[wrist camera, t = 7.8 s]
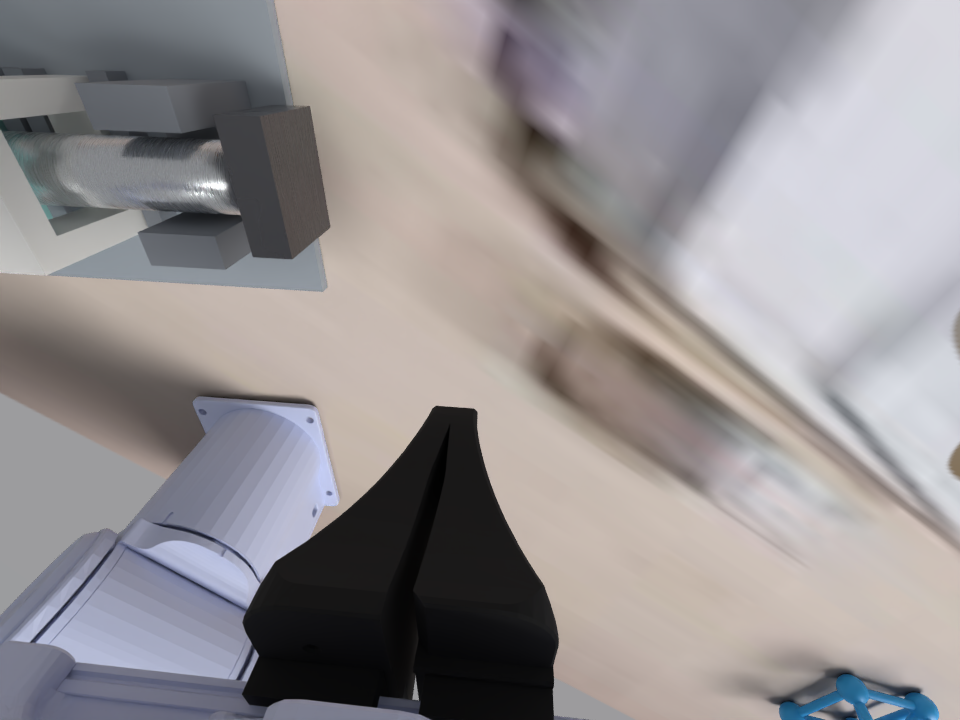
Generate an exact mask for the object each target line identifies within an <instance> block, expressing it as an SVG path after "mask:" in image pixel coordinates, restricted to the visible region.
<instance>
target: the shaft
mask: <svg viewBox="0 0 960 720" xmlns="http://www.w3.org/2000/svg"><path fill="white" fill-rule="evenodd" d="M213 118H214V121H215V125H216V128H217V132H218V135H219V139H220V140H218V139H194V138H169V137H144V136H120V135H95V134H71V133H46V132H22V131H2V133H3V135H4V137H5V139H6V141H7V143H8V145H9V147H10V148H11V150H12V152H13V154H14V156H15V158H16V160H17V162H18V164H19V165H20V167H21V169H22V171H23V173H24V175H25V177H26V179H27V180H28V182H29V184H30V186H31V188H32V190H33V192H34V194H35V196H36V197H37V199H38V201H39V203H40V205H52V206H72V207H92V208H112V209H131V210H151V211H171V212H191V213H210V214H230V215H241V217H242V221H243V224H244V228H245V231H246V235H247V239H248V242H249V246H250V249H251V253H252V256H253V257H256V258H274V259H294V258H295V257H296V256H297V255H298V254H299V253H301V252H302V251H303V250H304V249H305V248H307V247H308V246H309V245H310V244H311V243H312V242H314V241H315V240H316V239H317V238H318V237H320V236H321V235H322V234H323V233H324V232H325V231H327V230H328V229H329V228H330V222H329V216H328V210H327V205H326V199H325V193H324V187H323V181H322V175H321V169H320V163H319V157H318V151H317V146H316V140H315V134H314V128H313V122H312V116H311V110H310V106H289V105H268V106H262V107H256V108H250V109H244V110H238V111H232V112H226V113H219V114H213Z"/></svg>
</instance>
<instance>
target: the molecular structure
mask: <svg viewBox="0 0 960 720" xmlns="http://www.w3.org/2000/svg"><path fill="white" fill-rule="evenodd" d="M836 687H837V690H836V691H834V692H832V693H830V694H828V695H825V696H823V697H821V698H819V699H817V700H814V701H812V702H810V703H808V704H806V705H803V706H801V707H800V706H798V705H797V704H795V703H793V702H789V701H787V702H784V703H782V704H781V705H780V708H779V714H780V717H781V719H782V720H824V719H820V718H816V717H812V716H809V714H811V713H813V712H816V711H818V710H820V709H823V708H825V707H827V706H830V705H832V704H834V703H837V702H839V701H841V700H844V699H845V700H846V701H847V702H849V703H851V704H853V705H854V708H855V710H856V713H857V716H858V718H859V720H873V719H872V717H871V715H870V713H869V711H868V709H867V707H866V706H865V703H867V701H868V699H873V700H876V701H880V702H884V703H888V704H892V705H896V706H899V707H903V709H901V710H898V711H895V712H893V713H890V714H887V715H885V716H882V717H880V718H877V719H874V720H938V718H939V712H938V709H937V707H936V705H935V704H934V703H933V701H932V700H930V699H929V698H928V697H926V696H925V695H923V694H920V693H916V692H912V693H909V694H907V695H906V696H905V698H904V699H903V698H899V697H896V696H892V695H888V694H884V693H880V692H877V691H873V690H869V689H867V688H866V686H865V685H864V683H863V682H862V681H861V680H860V679H858V678H857V677H855V676H853V675H850V674H843V675H841V676H839V677H838V678H837V681H836ZM845 720H858V719H856V718H852V717H849V718H846V719H845Z"/></svg>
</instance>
